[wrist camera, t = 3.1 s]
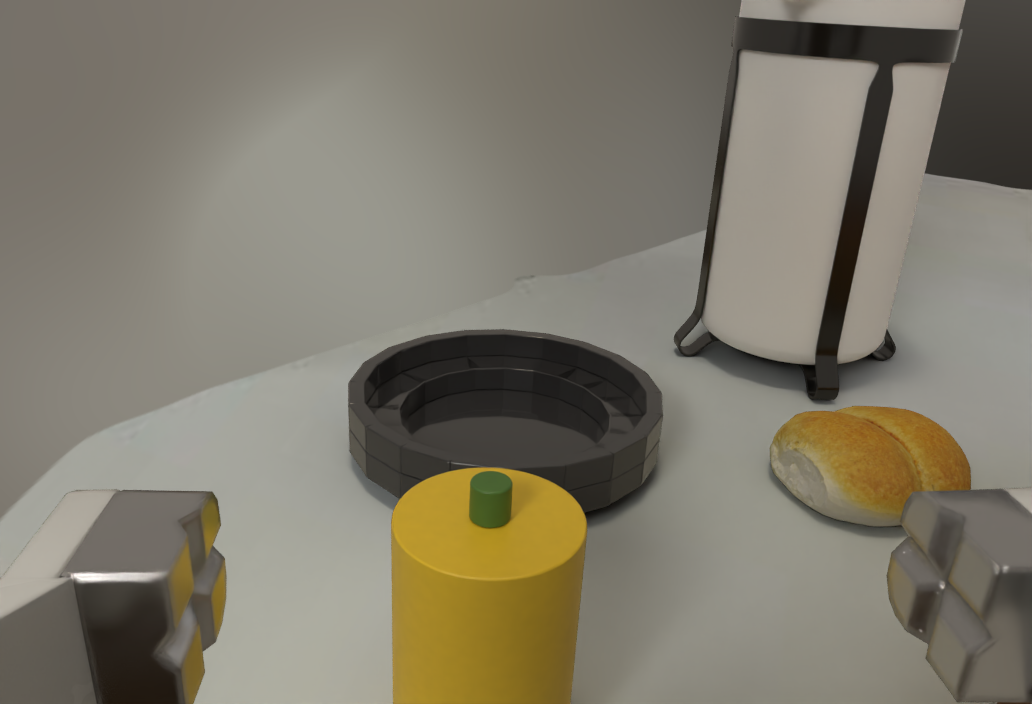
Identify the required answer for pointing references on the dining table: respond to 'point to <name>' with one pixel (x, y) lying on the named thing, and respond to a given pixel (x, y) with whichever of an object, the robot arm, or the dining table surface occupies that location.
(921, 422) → the bread roll
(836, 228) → the coffee press
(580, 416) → the bowl
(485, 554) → the pepper
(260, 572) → the dining table surface
